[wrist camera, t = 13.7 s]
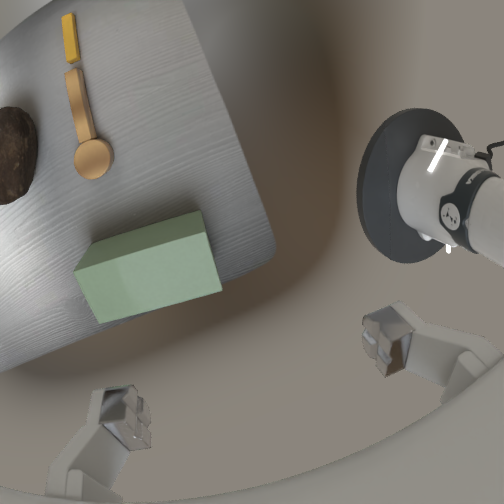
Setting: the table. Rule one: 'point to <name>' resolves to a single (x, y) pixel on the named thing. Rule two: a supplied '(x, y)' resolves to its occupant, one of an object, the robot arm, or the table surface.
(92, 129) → the spoon
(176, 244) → the sage green box
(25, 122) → the dark brown bone
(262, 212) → the table surface
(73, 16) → the fry
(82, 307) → the table surface
